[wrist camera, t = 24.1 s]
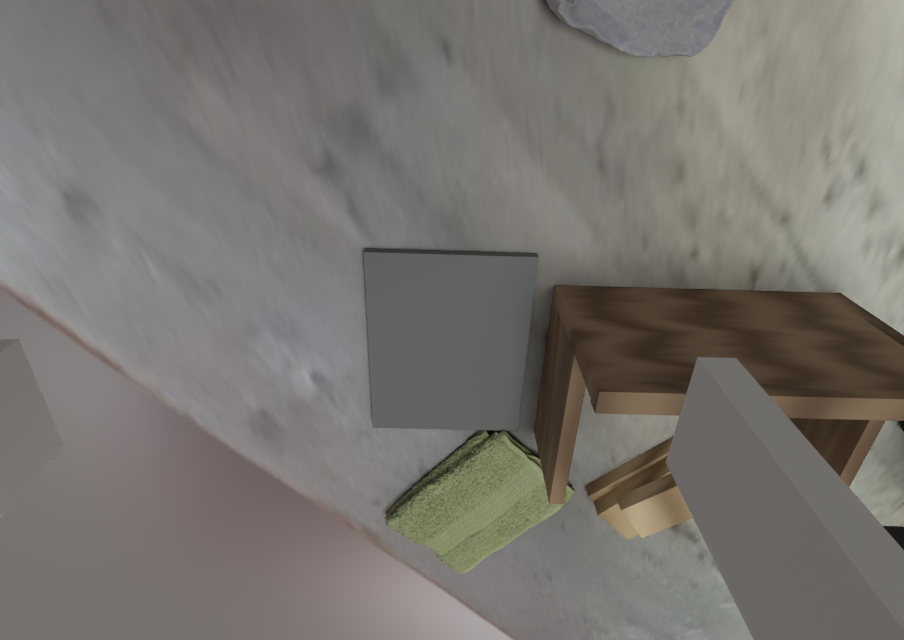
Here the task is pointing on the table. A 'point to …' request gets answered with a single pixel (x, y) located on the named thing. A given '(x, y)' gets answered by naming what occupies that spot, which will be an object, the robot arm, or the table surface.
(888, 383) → the walnut rack
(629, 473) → the offcut stack
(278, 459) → the table surface
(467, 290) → the charcoal panel
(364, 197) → the table surface
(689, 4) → the stone block
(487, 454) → the washcloth
